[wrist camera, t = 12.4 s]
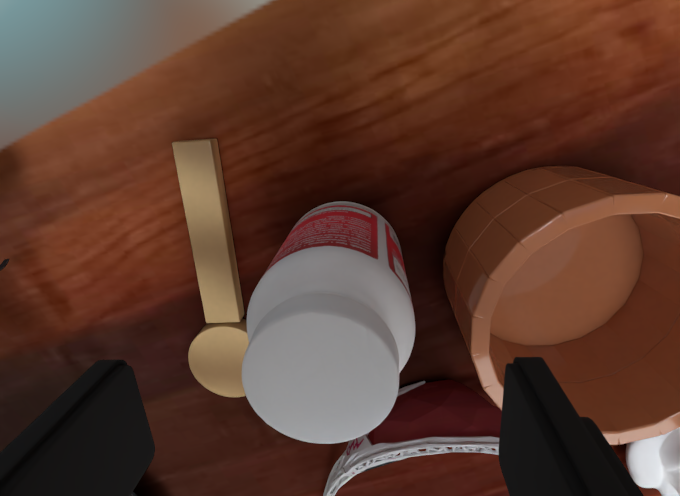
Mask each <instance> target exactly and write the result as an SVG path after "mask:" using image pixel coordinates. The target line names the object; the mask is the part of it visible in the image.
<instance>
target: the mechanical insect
mask: <svg viewBox="0 0 680 496" xmlns="http://www.w3.org/2000/svg"><path fill="white" fill-rule="evenodd" d="M8 261H9V259H5V260H4V261H3V262H2V264H1V265H0V270H2V269H3V268H4V267H5V266H6V265H7V263H8Z"/></svg>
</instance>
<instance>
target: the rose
mask: <svg viewBox="0 0 680 496" xmlns="http://www.w3.org/2000/svg"><path fill="white" fill-rule="evenodd" d="M626 463H627V467H628V470H629V473H630V476H631V478H632V479H633V481H634V482H635V483H636V484H637V485H639V486H640V487H643V488H656V489H658V490H659V491H660V493H661V495H662V496H680V427H679V428H677V429H675V430H673V431H671V432H669V433H667V434H665V435H662V434H661V435H660V436H657V437H652V438H648V439H644V440H639V441H635V442H630V443H627V446H626Z"/></svg>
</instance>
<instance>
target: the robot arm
mask: <svg viewBox="0 0 680 496" xmlns="http://www.w3.org/2000/svg"><path fill="white" fill-rule="evenodd" d="M154 452H155V445H154V441H153V438H152V434H151V431H150V427H149V424H148V420H147V417H146V413H145V410H144V406H143V403H142V400H141V396H140V393H139V389H138V386H137V382H136V379H135V375H134V372H133V369H132V367H131V366H128V365H127V363H126V362H125V361H124V360H99V361H97V362H96V363H95V364H94V365H92V366H91V367H90V368H89V369H88V370H87V371H86V372H85V373H84V374H83V375H82V376H81V377H80V378H79V379H78V380H77V381H76V382H75V383H73V384H72V385H71V386H70V387H69V388H68V389H67V390H66V391H65V392H64V393H63V394H62V395H61V396H60V397H59V398H58V399H57V400H56V401H54V402H53V403H52V404H51V405H50V406H49V407H48V408H47V409H46V410H45V411H44V412H43V413H42V414H41V415H40V416H39V417H38V418H37V419H35V420H34V421H33V422H32V423H31V424H30V425H29V426H28V427H27V428H26V429H25V430H24V431H23V432H22V433H21V434H20V435H19V436H18V437H16V438H15V439H14V440H13V441H12V442H11V443H10V444H9V445H8V446H7V447H6V448H5V449H4V450H3V451H2V452H1V453H0V496H130V495H131V494H132V492H133V490H134V489H135V487H136V486H137V484H138V482H139V481H140V479H141V478H142V476H143V474H144V473H145V471H146V469H147V468H148V466H149V465H150V463H151V461H152V459H153V456H154ZM499 462H500V466H501V470H502V473H503V476H504V479H505V482H506V485H507V488H508V491H509V494H510V496H643V494H642V493H641V491H640V490H639V488H638V487H637V485H636V484H635V482H634V481H633V479H632V478H631V476H630V474H629V473H628V471H627V470H626V468H625V467H624V465H623V464H622V462H621V461H620V459H619V458H618V456H617V455H616V453H615V452H614V450H613V449H612V447H611V446H610V444H609V443H608V441H607V440H606V438H605V437H604V435H603V434H602V432H601V431H600V429H599V428H598V426H597V425H596V424H595V422H594V421H593V420H592V419H590V418H589V417H580V416H579V415H578V413H577V412H576V410H575V408H574V407H573V405H572V404H571V402H570V400H569V399H568V397H567V396H566V394H565V392H564V391H563V389H562V388H561V386H560V385H559V383H558V381H557V380H556V378H555V377H554V375H553V373H552V372H551V370H550V369H549V367H548V365H547V364H546V362H545V361H544V359H543V358H542V357H515V358H514V361H513V363H507V364H506V367H505V378H504V390H503V403H502V415H501V427H500V439H499Z"/></svg>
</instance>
